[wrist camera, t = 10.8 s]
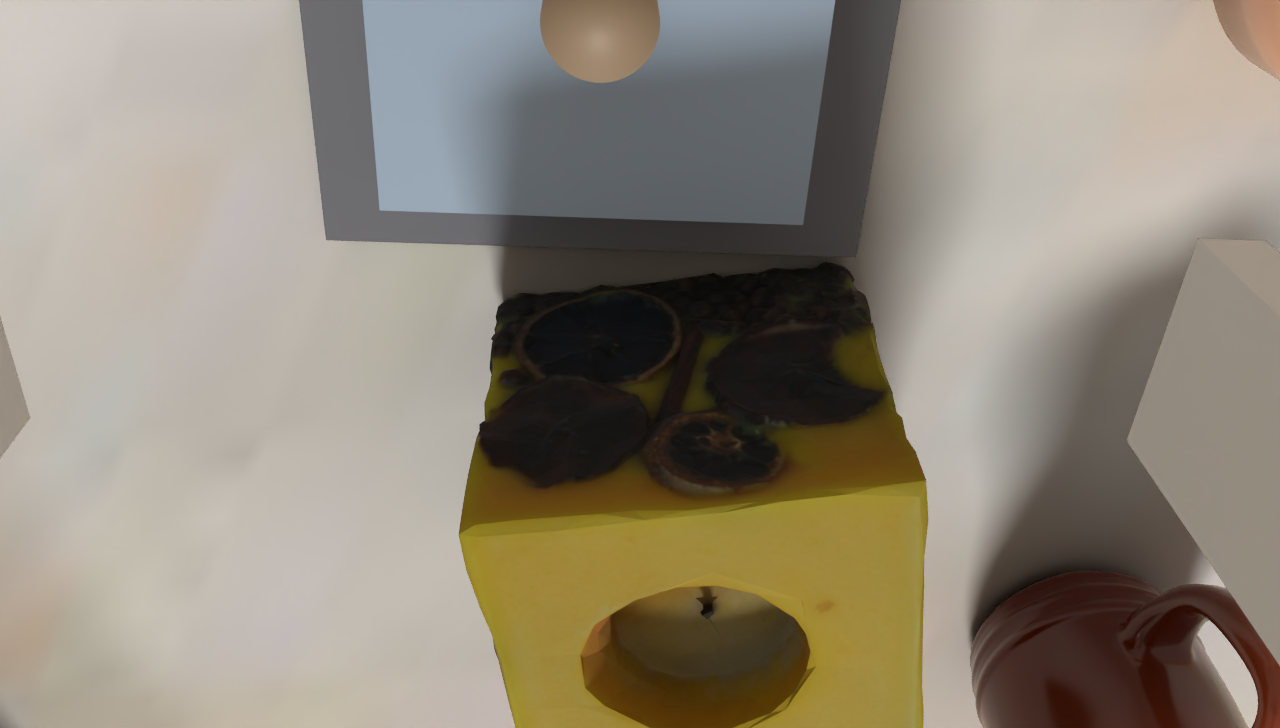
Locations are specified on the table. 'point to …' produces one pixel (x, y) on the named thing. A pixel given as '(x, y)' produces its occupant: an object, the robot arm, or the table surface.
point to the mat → (826, 230)
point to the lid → (597, 106)
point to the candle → (698, 509)
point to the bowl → (1253, 30)
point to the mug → (1115, 657)
